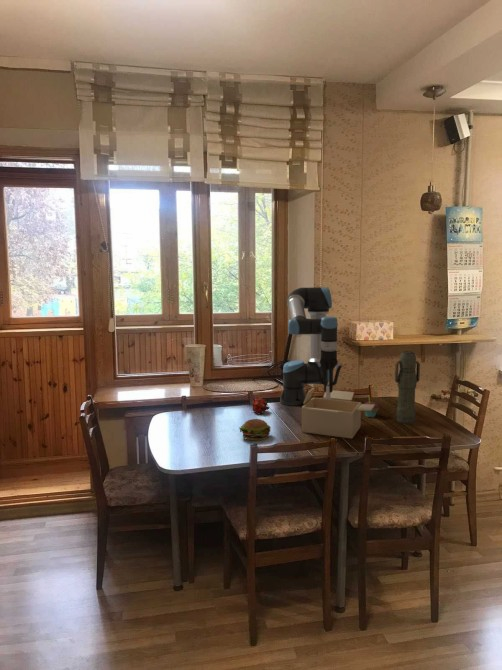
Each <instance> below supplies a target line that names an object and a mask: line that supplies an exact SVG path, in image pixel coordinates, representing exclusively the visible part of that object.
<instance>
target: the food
mask: <svg viewBox="0 0 502 670" xmlns="http://www.w3.org/2000/svg"><path fill="white" fill-rule="evenodd" d="M238 428H239V432H240V433H242V437H243V438H244V439H246V440H248V441H253V442H254V441H255V442H256V441H257V442H258V441H263V439H264V440H266V439H268V437H269V435H270V433H271V429H272V427H271V426H270V425H269V424H268V423H267V422H266V421H265V420H263V419H259V418H252V419H248V420H246V421H245V422H244V423H243V424H242V425H241V426H240V427H238Z"/></svg>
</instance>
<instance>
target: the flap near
mask: <svg viewBox="0 0 502 670" xmlns="http://www.w3.org/2000/svg"><path fill="white" fill-rule="evenodd" d="M307 410H316V411H325V412H334V413H341V411H336V410H327V409H319V408H307Z"/></svg>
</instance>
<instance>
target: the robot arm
mask: <svg viewBox="0 0 502 670" xmlns="http://www.w3.org/2000/svg"><path fill="white" fill-rule="evenodd" d="M332 303H333V301H332V294H331V291H330V288H328V287H325V286H324V287H322V286H320V287H318V286H317V287H297V288H296V289H294V290H293V291H291V292H290V293H289V295H288V296H287V298H286V306H287V308H288V310H289V315H290V319H288V321H287V323H288V324H287V325H288V326H287V330H288V334H289V335H296V336H298V335H310V356H309V358H308V359H307V363H305V362H304V360H301V359H300V360H297V359H296V360H290V361H287V362H285V363H284V364H283V369H282V373H283V375H282V376H283V379H282V383H283V384H282V385H283V386H282V390H281V394H280V399H279V402H280V403H281V404H282V405H284V406H285V405H286V406H293V407H295V406H304V405H305V404H306V403H307V402H308V401H307V402H306V403H305V404H303V402H304V400H305V398H306V395H307V393H306V390H305V385H323V393H325V392H326V398H325V399H328V400H329V399H330V398H331V393H332V391H333V390H334V389H333V387H334V386H335V385H337V384H338V379H339V376H340V372H341V369H342V368H343V364H340V363H339V361H338V359H337V358H338V350H337V349H338V318H337V317H336V316H327V314H328V313H329V312H330V309H332V307H333V305H332ZM305 309H307V313H309V315H310V318H307V316H306V311H305ZM335 367H336V371H335V375H334V369H335Z"/></svg>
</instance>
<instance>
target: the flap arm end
mask: <svg viewBox="0 0 502 670" xmlns="http://www.w3.org/2000/svg"><path fill="white" fill-rule="evenodd" d="M314 391H315V387H313V386H312V388H311V389H309V390H308V391H307V393H306V398H305V400H304V402H303V405H305V403H306V402H308V401H310V400H311V399H312V398H311V397H312V395H313V393H314Z"/></svg>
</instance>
